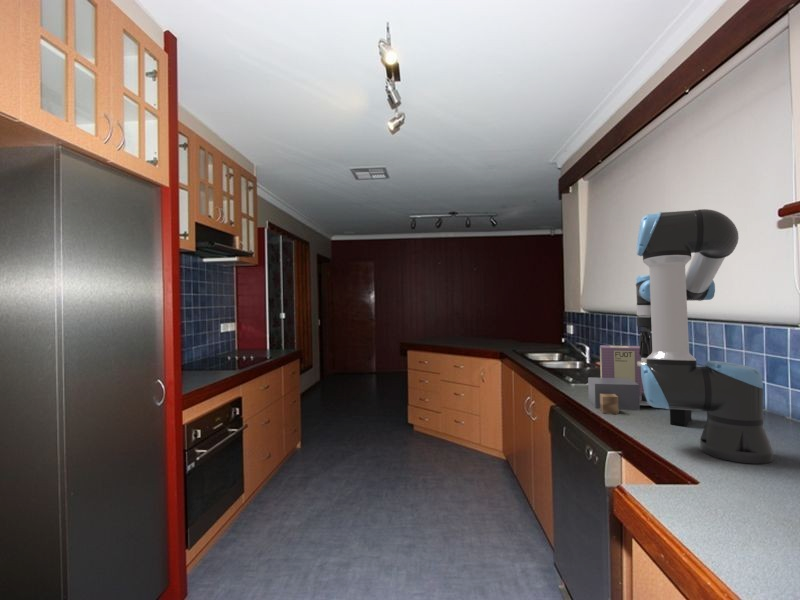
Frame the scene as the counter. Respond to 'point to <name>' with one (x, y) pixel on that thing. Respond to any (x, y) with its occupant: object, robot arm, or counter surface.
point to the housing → (614, 391)
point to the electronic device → (680, 417)
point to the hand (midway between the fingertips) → (649, 376)
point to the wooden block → (609, 403)
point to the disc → (641, 363)
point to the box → (621, 363)
